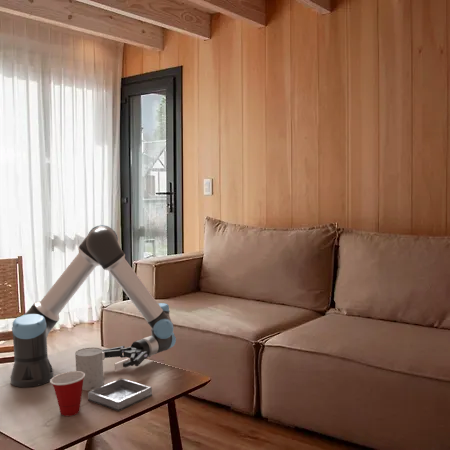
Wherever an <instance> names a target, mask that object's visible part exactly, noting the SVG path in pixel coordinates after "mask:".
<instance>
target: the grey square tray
mask: <svg viewBox="0 0 450 450" xmlns="http://www.w3.org/2000/svg"><path fill="white" fill-rule="evenodd" d="M152 396H153V388H152V386H148V385H146V384H142V383H138V382H136V381H132V380H128V379H125V378H121V377H120V378H118V379H116V380H114V381H111V382H108V383H107V384H104V385H103V386H101V387H99V388H96V389H93V390H88V391H87V399H88V401H89V402H92V403H95V404H97V405H100V406H103V407H106V408H109V409H111V410H114V411H117V412H120V411H123V410H124V409H125V410H126V409H127V408H129V407H131V406H134V405H135V404H138V403H139V402H142V401H145V400H146V399H148V398H150V397H152Z"/></svg>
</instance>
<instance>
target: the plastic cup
mask: <svg viewBox="0 0 450 450" xmlns="http://www.w3.org/2000/svg"><path fill="white" fill-rule="evenodd" d="M84 377H85V373H84V372H80V371H76V370H74V371H67V372H62V373H59V374H57V375H54V377H53V378H52V379H51V380H50V381H49V383H50V384H51V385H52V387H53V390H54V392H55V396H56V401H57V404H58V408H59V412H60V415H61V416H63V415H64V417H72V416H75V415H77V414H79V413H80V410H81V402H82V395H83V394H82V393H83V390H82V386H83V380H84Z"/></svg>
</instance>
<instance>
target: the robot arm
mask: <svg viewBox="0 0 450 450" xmlns="http://www.w3.org/2000/svg"><path fill="white" fill-rule="evenodd" d="M118 238H119V237H118V234H117V232H116V231H115V230H114V229H113V228H112V227H110V226H108V225H105V224H100V225H95V226H94V227H92V228H91V229H90V231H88V235H87V236H86V237H85V238H84V240H83V241H81V243H80V244H79V246H78V253H77V254H76V256H75V257H74V258H73V259H72V261H71V262H70V264H68V266H67V267H66V268H65V269H64V271H63V273H62V274H61V275H60V276H59V278H58V279H57V280H56V281H55V282H54V284H53V285H52V286H51V288H50V289H49V290H48V292H46V294H45V295H44V296H43V298H42V299H41V300H39V301H35V302H34V303H33V304H32V305H31V307H30V308H29V309H28V311H26V312H24V314H23V315H20V316H17V317H16V318H15V319H14V320H13V322H12V327H11V331H12V341H13V342H12V343H13V356H14V358H13V359H14V362H13V366H12V370H11V374H10V376H9V377H10V378H9V379H10V384H11V385H12V386H14V387H18V388H32V387H38V386H41V385H46V384H47V383H50V380H51V379H52V378H53V377H54V376H55V375H54V373H55V372H54V369H53V367H52V364H51V362H50V359H49V356H48V336H49V334H50V332H51V331H52V330H53V328H54V327H55V325H57V323H58V322H59V321H60V313H61V312H62V311H63V309H64V308H65V306H67V304H68V303H69V301H71V299H72V298H73V297H74V295H75V294H76V292H78V290H79V289H80V288H81V287H82V285H83V284H84V282H85V281H86V280H87V279H88V277H89V276H90V275H91V274H92V272H94V270H95V268H96V267H98V266H100V267H102V270H103V271H108V272H109V273H110V275H111V276H112V277H113V278H112V279H114V280H115V282H116V283H117V284H118V285H119V287H120V288H121V289H122V291H123V292H124V294H126V296H127V297H128V298H129V300H130V301H131V303H132V304H133V306H134V307H135V308H136V309H137V310H138V312H139V314H141V316H142V317H143V318H144V320H145V321H146V323H147V324H148V325H149V327H150V328H151V329H150V330H151V335H148V336H146V337H144V338H141V339H138V340H135V341H133V342H132V343H131V346H126V347H125V345H120V346H115V347H111V348H110V347H109V348H104V349H102V357H103V361H105V359H107V358H117V357H119V358H122V359H123V358H125V359H123V360H120V361H117V362H115V363H114V372H118V371H121V370H122V369H125V368H128V367H133V366H135V367H138V366H140V365H141V363H143V361H145V360H146V359H148V358H150V357H151V356H154V355H156V354H159V353H162V352H164V351H168V350H169V349H171V348H173V347H174V346H175V344H176V341H177V338H176V336H175V333H174V323H173V322H172V319H171V317H170V311H171V310H170V306H169V304H168V303H164V302H163V303H161V302H159V303H158V301H157V300H156V299H155V298H154V297H153V295H152V294H151V292H150V291H149V289H148V287H146V285H145V284H144V283H143V281H142V280H141V279H140V277H139V276H138V274H137V273H136V272H135V270H134V269H133V267H131V265H130V264H129V262H128V261H127V260H126V258H125V257H126V254H125V252H124V251H123V250H122V248H121V246H120V244H119V241H118V240H119V239H118Z"/></svg>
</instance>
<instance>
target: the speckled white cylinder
mask: <svg viewBox="0 0 450 450" xmlns="http://www.w3.org/2000/svg"><path fill="white" fill-rule="evenodd" d="M102 350H103V349H102V348H100V347H85V348H80V349H78V350H76V351H75V352H74V356H75V371H80V372H84V373H85V377H84V380H83V386H82V391H91V390H94V389H96V388H99V387H101V386H104V385H105V381H104V380H105V379H104V360H103V357H102Z"/></svg>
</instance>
